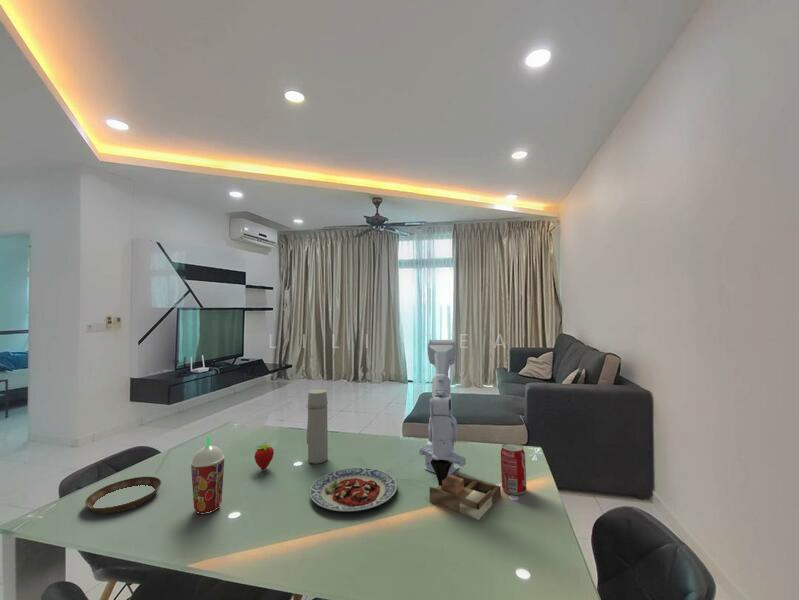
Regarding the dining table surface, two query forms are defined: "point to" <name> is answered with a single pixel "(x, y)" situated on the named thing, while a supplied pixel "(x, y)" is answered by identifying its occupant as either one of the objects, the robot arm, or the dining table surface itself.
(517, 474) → the soda can
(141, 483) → the oval wooden ring
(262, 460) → the strawberry
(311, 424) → the water bottle
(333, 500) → the ceramic plate
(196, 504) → the smoothie
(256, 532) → the dining table surface
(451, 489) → the block
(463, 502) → the wooden compartment tray
